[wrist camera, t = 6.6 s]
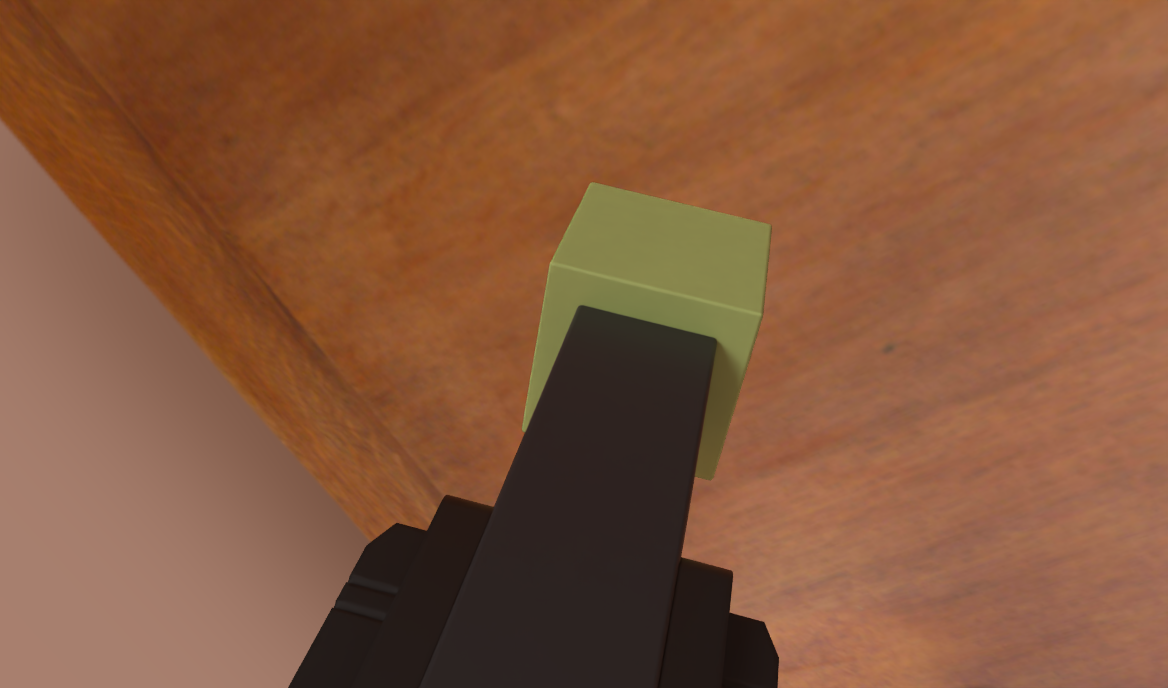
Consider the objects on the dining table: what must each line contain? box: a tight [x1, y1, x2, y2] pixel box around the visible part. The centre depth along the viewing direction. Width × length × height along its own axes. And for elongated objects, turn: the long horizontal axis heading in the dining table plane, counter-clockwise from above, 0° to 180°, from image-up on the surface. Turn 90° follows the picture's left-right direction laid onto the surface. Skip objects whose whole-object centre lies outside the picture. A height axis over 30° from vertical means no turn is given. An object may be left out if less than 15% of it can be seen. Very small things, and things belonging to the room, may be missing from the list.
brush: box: [419, 182, 772, 688], centre depth 15 cm, size 4×4×14 cm
